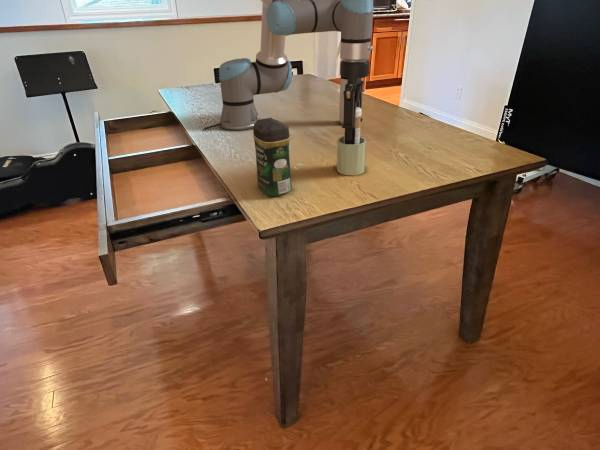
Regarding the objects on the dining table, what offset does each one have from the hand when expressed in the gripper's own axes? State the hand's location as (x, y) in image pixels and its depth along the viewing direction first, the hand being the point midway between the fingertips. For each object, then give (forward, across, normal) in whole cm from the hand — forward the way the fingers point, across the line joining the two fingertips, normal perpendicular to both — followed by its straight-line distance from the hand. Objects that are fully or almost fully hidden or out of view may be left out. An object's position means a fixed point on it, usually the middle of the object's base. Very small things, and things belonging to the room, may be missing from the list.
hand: (351, 147), depth 117 cm
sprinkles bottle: (+3, 0, 0) cm, 3 cm away
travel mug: (+7, +44, +11) cm, 46 cm away
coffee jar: (+7, -18, +16) cm, 26 cm away
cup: (+7, 0, 0) cm, 7 cm away
